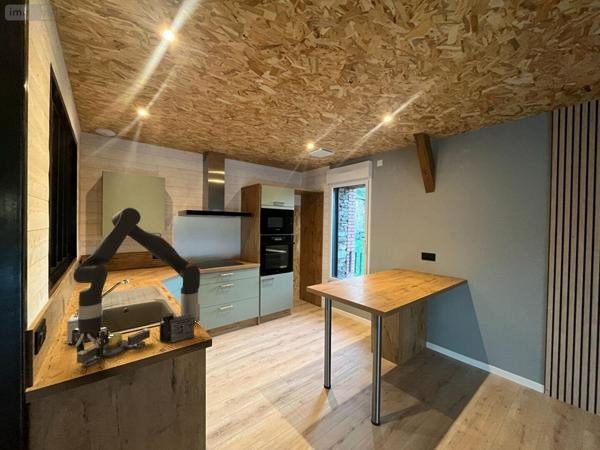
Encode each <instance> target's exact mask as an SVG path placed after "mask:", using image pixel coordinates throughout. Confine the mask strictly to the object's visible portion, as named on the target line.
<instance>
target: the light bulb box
mask: <svg viewBox="0 0 600 450" xmlns="http://www.w3.org/2000/svg"><path fill="white" fill-rule="evenodd" d="M66 323H67V325H66V328H67V329H66V336H67V337H66V338H67V339H66V344H67V345H70V344H71V343H70V342H72V330H74V329H76V328H78V313H74V314H71V315H70V317H69V319H68V320H67V321H66ZM76 340H77V338H76ZM69 343H70V344H69Z"/></svg>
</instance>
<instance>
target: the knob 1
mask: <svg viewBox="0 0 600 450" xmlns="http://www.w3.org/2000/svg"><path fill="white" fill-rule="evenodd" d="M99 344H100V343H99ZM96 348H97V347H96V345H95V344H93V345H91V346H90V347H88V348H86V349H84V351H80V352H78V353H77V352H76V364H82V363H84V362H86V361H92V360H94V357H95V356H96Z"/></svg>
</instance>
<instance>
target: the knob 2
mask: <svg viewBox="0 0 600 450" xmlns="http://www.w3.org/2000/svg"><path fill="white" fill-rule="evenodd" d="M150 331H151V328H146V327H145V328H143V329H142V330H141V331H138V332H136V333H134V334H131V335H129V336H127V341H128V345H133V344H141V343H142V341H145V340H147V339H149V338H150V337H151V332H150Z"/></svg>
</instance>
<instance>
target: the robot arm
mask: <svg viewBox="0 0 600 450" xmlns="http://www.w3.org/2000/svg"><path fill="white" fill-rule="evenodd" d="M141 218H142V217H141V214H140V212H139V211H138V210H137V209H135V208H133V207H126V208H122V209H121V210H120V211H118V212H117V213H115V214H114V215H113V216H112V217H111V224H112V225H113V226H114V227H113V229H111V231H110V232H108V234H107V235H106V236H104V238H103V239H102V240H101V242H100V243H99V244H98V245H97V247H96V248H95V249H94V251H93V253H92V254H91V255H90V256H88V257H87V258H85V260H84V261H82V262H81V263H80V264H79V265H77V267H76V268H75V270H74V271H73V279H74V281H75V282H77V283H79V284H90V286H89V288H84V289H82V290H81V291H80V292H79V295H78V309H77V314H78V328H76V329H74V330H72V343H71V345H75V347H76V354H77V353H78V352H80V351H84V350H85V342H91V343H92V344H93V345H96V347H97V348H96V357H100V356H101V355H102V354H103V350H104V346H105V345H107V344H108V343H109V333H108V331H109V329H108V328H106V330H101V328H102V325H103V313H104V312H103V309H104V308H103V290H104V288H105V284H106V281H107V279H108V270H107V267H105V265H108V264H109V263H110V262H111V261H112V260H113V259H114V256H116V253H117V252H118V250H119V249H120V247H121V245H122V244H123V242H124V240H125V239H126V238H127V237H129V238H131V239H132V240H134V241H135V242H137V244H138V245H140V246H141V247H143V248H144V249H145V250H147V252H149V253H150V254H151V255H152V256H154V257H156V258H157V259H158V260H159V261H161V262H163V263H164V264H166V265H168V266H169V267H170V268H172V269H173V270H174V271H175V272H176V273H177V274H178V276H180V278H181V279H182V286H181V288H180V316H183V315H188V314H192V316H193V317H194V325H195V324H197V323H198V322H199V321H200V316H201V315H200V314H201V312H200V310H201V308H200V307H201V304H200V303H199V289H200V285H201V270H200V267H198V266H197V265H195V264H192V263H191V262H189V261H187V260H186V259H184V258H183V257H182V256H180V254H179V253H178V252H177V251H176V249H175V248H174V247H173V246H172V245H171V244H170V243H169V241H167V240H165V239H164V238H163V237H162V236H159V235H156V234H154V233H150V232H148V231H145V230H144V229H142V228H141V227H139V226H138V224H139V223H140V221H141ZM195 321H196V322H197V323H196V322H195ZM76 338H77V340H76ZM104 340H105V342H104ZM98 342H100V344H99V343H98Z"/></svg>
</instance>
